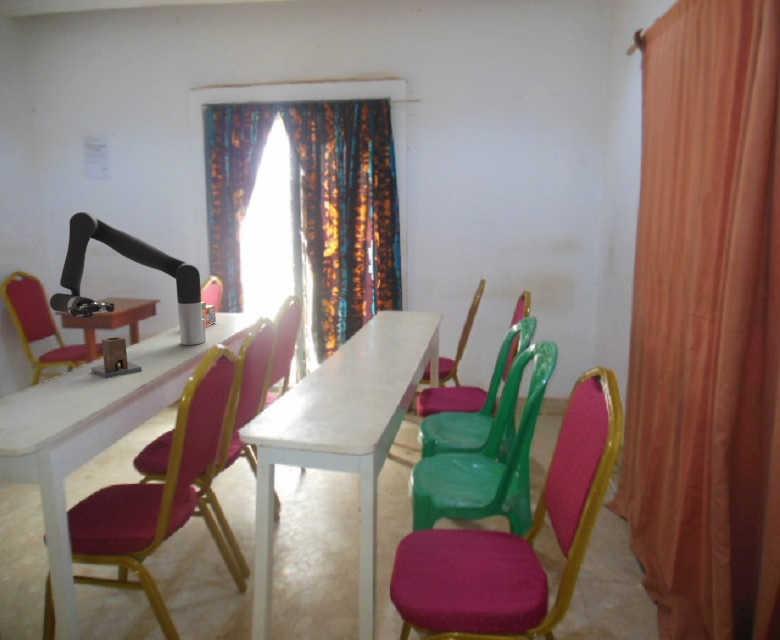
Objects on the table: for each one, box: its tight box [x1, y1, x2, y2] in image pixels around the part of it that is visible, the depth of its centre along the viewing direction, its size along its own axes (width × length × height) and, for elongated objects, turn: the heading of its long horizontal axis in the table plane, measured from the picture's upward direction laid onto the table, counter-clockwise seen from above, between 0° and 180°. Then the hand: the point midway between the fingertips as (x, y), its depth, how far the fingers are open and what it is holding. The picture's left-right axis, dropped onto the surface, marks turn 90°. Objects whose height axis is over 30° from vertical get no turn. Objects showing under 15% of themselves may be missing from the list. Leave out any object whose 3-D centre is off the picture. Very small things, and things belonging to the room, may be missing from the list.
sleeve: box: [101, 336, 128, 370], centre depth 202 cm, size 6×6×10 cm
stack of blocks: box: [201, 301, 217, 326], centre depth 280 cm, size 21×6×12 cm, turn 171°
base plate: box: [90, 360, 142, 379], centre depth 203 cm, size 12×12×6 cm
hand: (99, 311), depth 207 cm, fingers open, 8 cm apart
